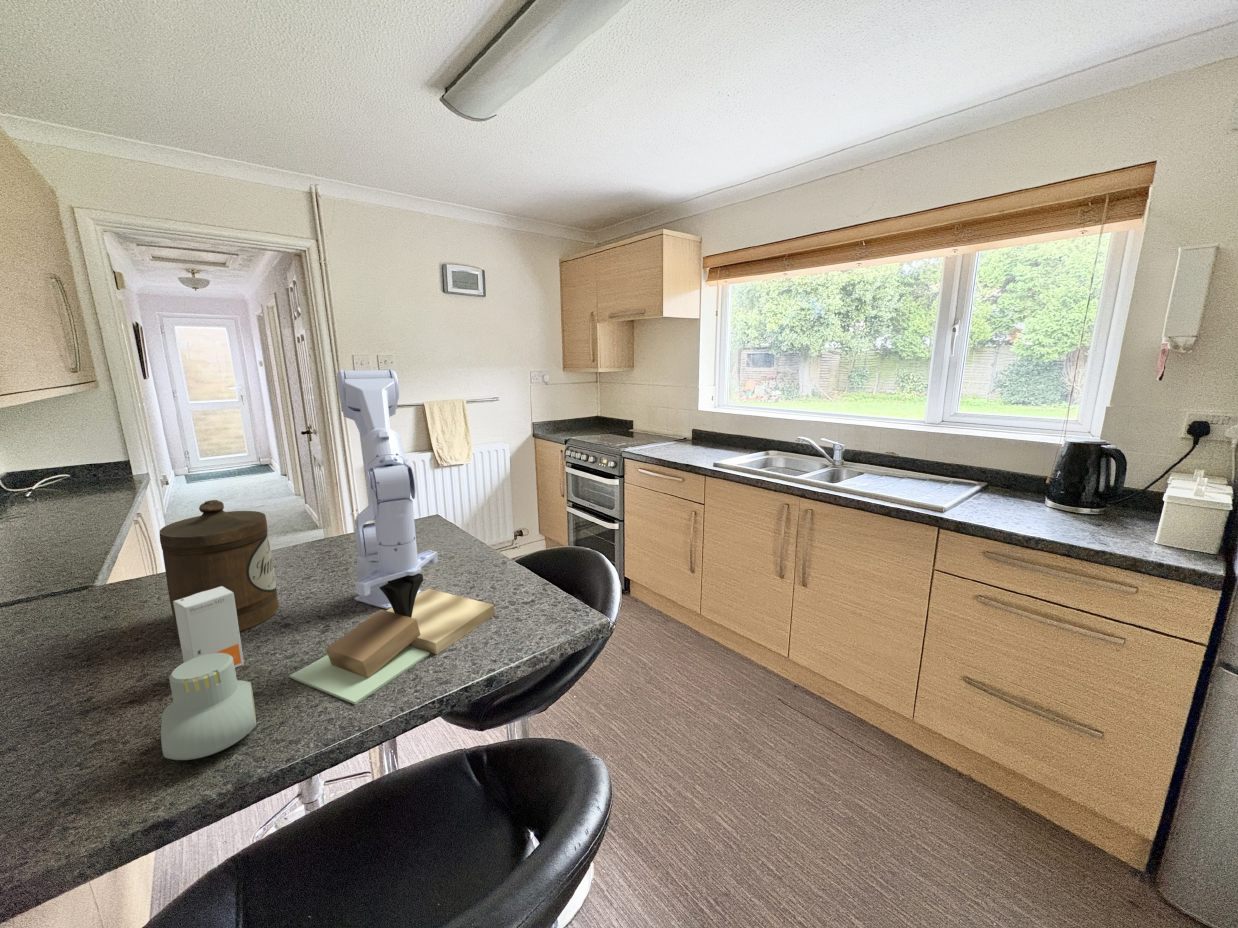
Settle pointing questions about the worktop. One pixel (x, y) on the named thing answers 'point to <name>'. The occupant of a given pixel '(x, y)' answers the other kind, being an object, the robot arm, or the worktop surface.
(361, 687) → the sage mat
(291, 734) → the worktop surface
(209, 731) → the air freshener
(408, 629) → the walnut tile
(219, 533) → the wooden container
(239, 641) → the skincare box
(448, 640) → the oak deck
